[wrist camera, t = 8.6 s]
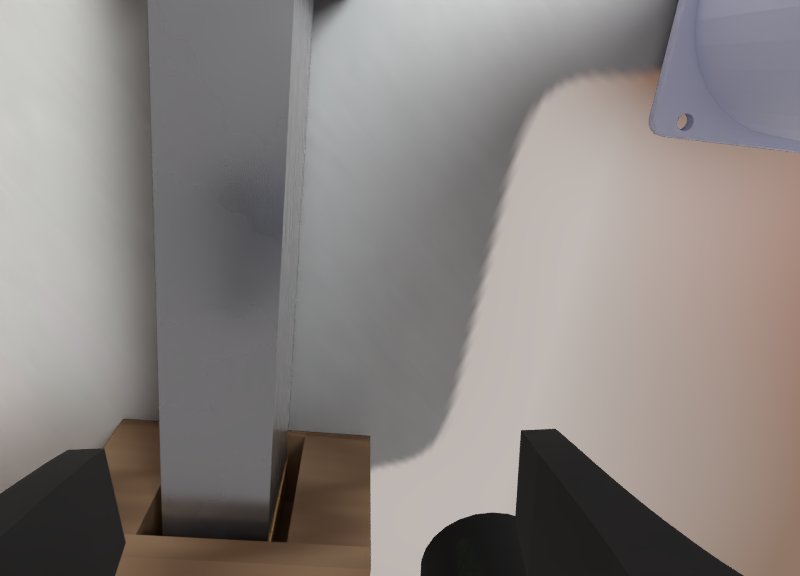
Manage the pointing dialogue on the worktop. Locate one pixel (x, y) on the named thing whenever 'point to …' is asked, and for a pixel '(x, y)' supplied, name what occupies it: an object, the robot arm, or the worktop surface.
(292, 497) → the socket
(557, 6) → the worktop surface
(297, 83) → the bar
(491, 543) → the cup
